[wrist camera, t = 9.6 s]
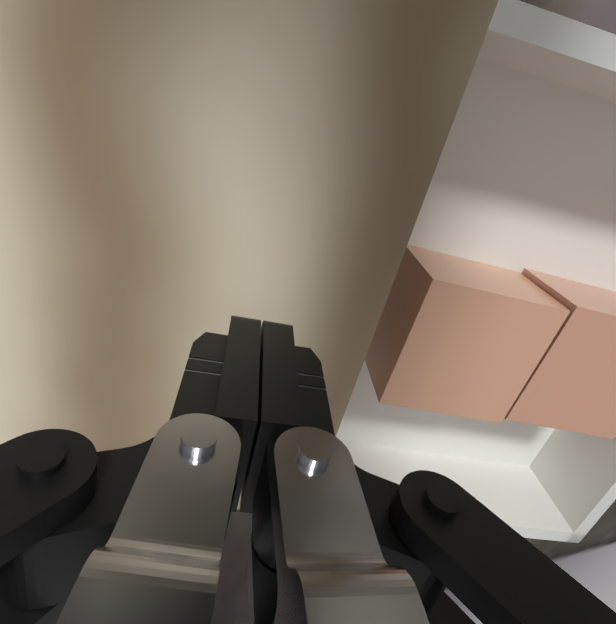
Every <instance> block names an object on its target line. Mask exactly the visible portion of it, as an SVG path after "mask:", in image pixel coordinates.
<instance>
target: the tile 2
mask: <svg viewBox="0 0 616 624" xmlns="http://www.w3.org/2000/svg"><path fill="white" fill-rule="evenodd" d="M521 274H522V275H524V276H525V277H526V278H528V279H529V280H530V281H532V282H533V283H534V284H536V285H537V286H538V287H540V288H541V289H542V290H543V291H545V292H546V293H547V294H549V295H550V296H551V297H553V298H554V299H555V300H557V301H558V302H559V303H561V304H562V305H563V306H565V307H566V308H567V309H569V310H570V313H569V314H568V316H567V318H566V319H565V321H564V322H563V324H562V326H561V327H560V329H559V331H558V332H557V334H556V335H555V337H554V339H553V340H552V342H551V343H550V345H549V347H548V348H547V350H546V352H545V353H544V355H543V356H542V358H541V360H540V361H539V363H538V364H537V366H536V368H535V369H534V371H533V372H532V374H531V376H530V377H529V379H528V381H527V382H526V384H525V385H524V387H523V389H522V390H521V392H520V393H519V395H518V397H517V398H516V400H515V402H514V403H513V405H512V406H511V408H510V410H509V411H508V413H507V414H506V416H505V420H509V421H515V422H520V423H526V424H531V425H537V426H543V427H548V428H554V429H560V430H565V431H571V432H576V433H582V434H588V435H593V436H599V437H605V438H610V439H614V438H615V437H616V291H612V290H608V289H604V288H600V287H596V286H592V285H588V284H585V283H581V282H577V281H573V280H569V279H565V278H561V277H557V276H554V275H550V274H546V273H542V272H538V271H534V270H530V269H526V268H524V269H523V271H522V273H521Z"/></svg>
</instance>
